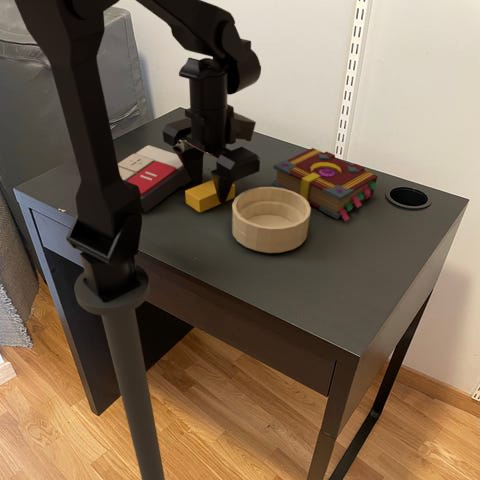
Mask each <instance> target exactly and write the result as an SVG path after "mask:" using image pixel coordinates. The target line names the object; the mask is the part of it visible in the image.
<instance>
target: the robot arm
mask: <svg viewBox="0 0 480 480" xmlns="http://www.w3.org/2000/svg"><path fill="white" fill-rule="evenodd" d="M13 1H14V3H15V5H16V8H17V11H18V12H19V14H20V17H21V19H22V21H23V23H24V26H25V28H26V30H27V32H28V33H29V34H30V36H31V37H32V39H33V40H34V42H35V43H36V45H37V46H38V48H39V49H40V51H42V53H43V55H44V56H45V57H46V59H47V60H48V63H49V65H50V69H51V72H52V76H53V80H54V84H55V87H56V92H57V94H58V98H59V103H60V107H61V110H62V113H63V117H64V121H65V125H66V128H67V132H68V136H69V140H70V143H71V147H72V151H73V155H74V158H75V161H76V166H77V169H78V173H79V176H80V183H79V185H78V188H77V191H76V194H75V205H76V215H75V217H74V219H73V221H72V223H71V226H70V228H69V230H68V233H67V235H66V237H65V239H66V242H67V243H68V244H69V245H70V247H71V248H73V249H76V250H78V251H80V253H79V255H80V260H81V263H82V267H83V272H84V271H85V275H86V277H85V278H83V283H84V284H85V285H86V286H87V287H88V288H89V289H90V290H91V291H92V292H93V293H94V294H95V295H96V296H97V297H98V298H99V299H100V300H101V301H102V302H103V303H106V302H109V301H111V300H113V299H115V298H117V297H119V296H121V295H123V294H125V293H127V292H129V291H131V290H133V289H135V288H137V287H139V286H141V282H140V281H139V280H138V279H137V278H136V277H135V276H136V275H137V271H136V265H137V264H136V259H135V256H136V255H138V253H139V247H140V239H141V232H142V225H143V215H142V214H145V213H144V212H145V211H144V209H143V207H142V204H141V193H140V190H139V187H138V186H137V185H135V184H132V183H130V182H127V181H125V180H123V179H122V178H121V175H120V172H119V167H118V163H119V162H118V158H117V153H116V148H115V143H114V137H113V133H112V128H111V122H110V118H109V117H110V116H109V113H108V109H107V104H106V98H105V93H104V89H103V83H102V79H101V78H102V77H101V74H100V69H99V64H98V63H99V62H98V54H99V50H100V47H101V45H102V41H103V38H104V35H105V29H106V28H105V27H106V25H105V11H107V10H108V9H110V8H112V7H113V6H114V5H116V4H118V3H119V2H120V0H13ZM135 1H136V2H137V3H138V4H140V5H141V6H142V7H144V8H145V9H147V10H148V11H149V12H151V13H152V14H154V15H155V16H156V17H158V18H159V19H160V20H161V21H163V22H164V23H165V24H166V25H167V26H168V27H169V28H170V32H171V35H172V37H173V39H175V41H176V42H177V43H178V44H179V45H180V46H181V47H182V48H183V49H184V50H185V51H187V52H190V53H195V54H200V55H204V56H206V57H204V58H200V59H197V58H193V57H188V58H187V60H186V62H185V64H184V65H183V66H182V67H181V68H180V69H179V71H178V76H179V78H184V79H188V88H189V108H185V109H184V117H185V118H182V119H179V120H176V121H172V122H169V123H166V125H165V126H164V128H163V130H162V138H163V140H162V141H163V143H166V144H167V145H169V146H170V147H172V151H173V152H174V154H177V156H178V157H179V159H180V161H181V162H182V164H183V165H184V167H185V169H186V170H187V172H188V174H189V176H190V178H191V179H192V180H191V182H192V183H193V185H194V187H196V186H198V185H201V184H203V177H204V156H205V154H206V155H207V156H209V157H210V156H212V157H214V158H215V159H217V160H216V162H215V169H213V170H211V171H210V174H211V178H212V179H211V180H213V182H214V186H215V189H216V193H217V196H218V199H219V202H220V203H221V204H223V203H225V201H226V199H227V197H228V194H229V192H230V190H231V187H232V185H233V184H234V183H235V182H238V181H239V180H243V179H244V178H247V177H249V176H252V175H254V174H256V173H258V172H260V169H261V157H260V156H259V155H258V154H257V153H255V152H253V151H252V150H249V149H248V148H246V147H243V146H240V147H236V148H235V149H229V148H228V147H227V145H234V144H236V143H237V140H245V141H246V142H252V138H253V135H254V132H255V128H256V124H257V121H256V120H253V119H251V118H249V117H247V116H246V115H245V116H244V115H242V114H240V113H237V112H235V108H234V106H232V105H231V104H229V103H228V96H229V95H230V96H231V95H234V94H236V93H238V92H240V91H242V90H244V89H246V88H248V87H250V86H252V85H255V84H256V83H257V82H258V80H259V79H260V76H261V73H262V65H261V63H260V59H259V57H258V54H257V53H256V51H254V50H253V49H252V41H251V40H249V39H244V38H241V36H240V33H239V31H238V29H237V26H236V21H235V18H234V16H233V15H232V13H231V12H229V10H226V9H224V8H222V7H220V6H218V5H215V4H213V3H210V2H207V1H204V0H135ZM210 57H212V58H210ZM226 202H227V201H226ZM135 264H136V265H135ZM104 299H105V300H104Z"/></svg>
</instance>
